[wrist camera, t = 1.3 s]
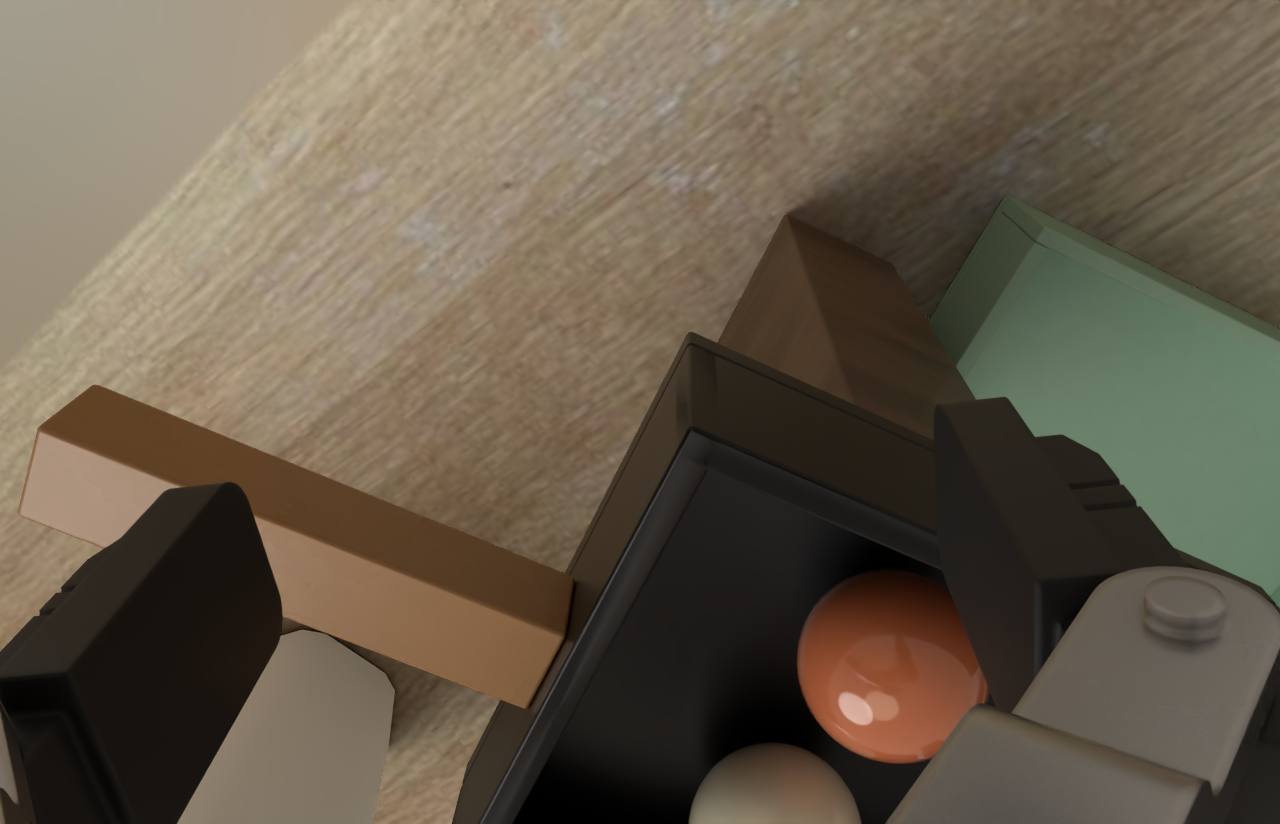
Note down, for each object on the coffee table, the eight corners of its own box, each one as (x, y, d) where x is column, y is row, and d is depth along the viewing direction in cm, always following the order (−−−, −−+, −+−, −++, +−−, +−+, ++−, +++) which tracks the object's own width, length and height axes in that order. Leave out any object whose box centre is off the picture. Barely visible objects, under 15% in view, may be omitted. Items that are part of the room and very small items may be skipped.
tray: (1005, 193, 34) (1044, 226, 30) (1435, 405, 36) (1521, 458, 32) (783, 557, 39) (793, 621, 36) (1166, 718, 42) (1212, 793, 38)
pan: (200, 109, 16) (71, 157, 12) (1261, 585, 18) (1387, 728, 15) (61, 615, 20) (-63, 753, 16) (954, 946, 22) (1001, 1121, 19)
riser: (785, 213, 34) (877, 473, 18) (893, 264, 35) (1079, 562, 18) (677, 416, 37) (673, 796, 21) (779, 460, 38) (851, 863, 22)
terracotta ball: (842, 506, 17) (872, 614, 15) (1000, 574, 18) (1057, 691, 15) (757, 641, 19) (770, 764, 16) (907, 702, 19) (945, 832, 16)
